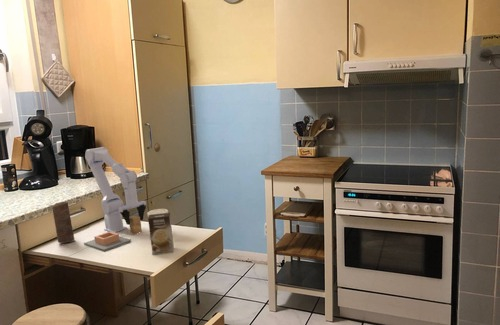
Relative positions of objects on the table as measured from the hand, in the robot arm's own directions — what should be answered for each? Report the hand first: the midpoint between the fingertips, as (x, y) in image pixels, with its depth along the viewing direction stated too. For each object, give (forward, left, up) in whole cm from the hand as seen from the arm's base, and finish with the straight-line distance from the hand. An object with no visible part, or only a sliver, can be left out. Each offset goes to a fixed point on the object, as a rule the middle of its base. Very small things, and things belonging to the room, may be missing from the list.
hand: (134, 222), depth 207 cm
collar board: (+1, -17, -5) cm, 17 cm away
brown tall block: (-21, -26, -6) cm, 34 cm away
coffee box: (+35, -10, -6) cm, 37 cm away
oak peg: (0, 0, -6) cm, 6 cm away
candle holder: (+16, +3, -6) cm, 17 cm away
